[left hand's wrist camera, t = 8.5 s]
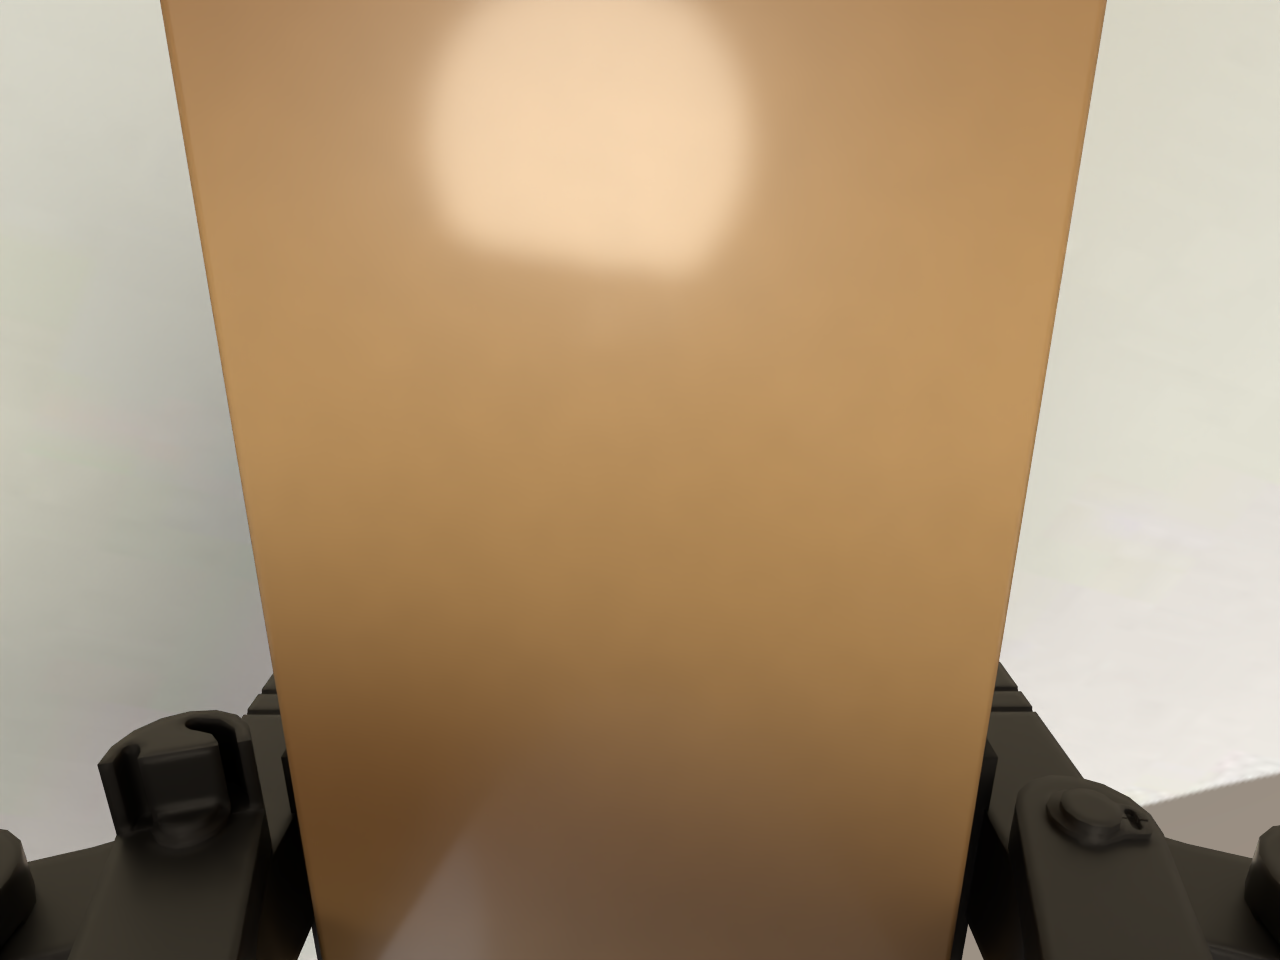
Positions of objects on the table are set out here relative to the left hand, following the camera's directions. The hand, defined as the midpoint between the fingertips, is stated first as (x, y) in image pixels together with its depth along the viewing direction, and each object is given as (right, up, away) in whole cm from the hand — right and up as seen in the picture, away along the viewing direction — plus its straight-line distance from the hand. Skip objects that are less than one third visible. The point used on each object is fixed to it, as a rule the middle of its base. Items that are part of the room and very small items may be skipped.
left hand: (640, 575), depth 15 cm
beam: (0, +25, -8) cm, 26 cm away
